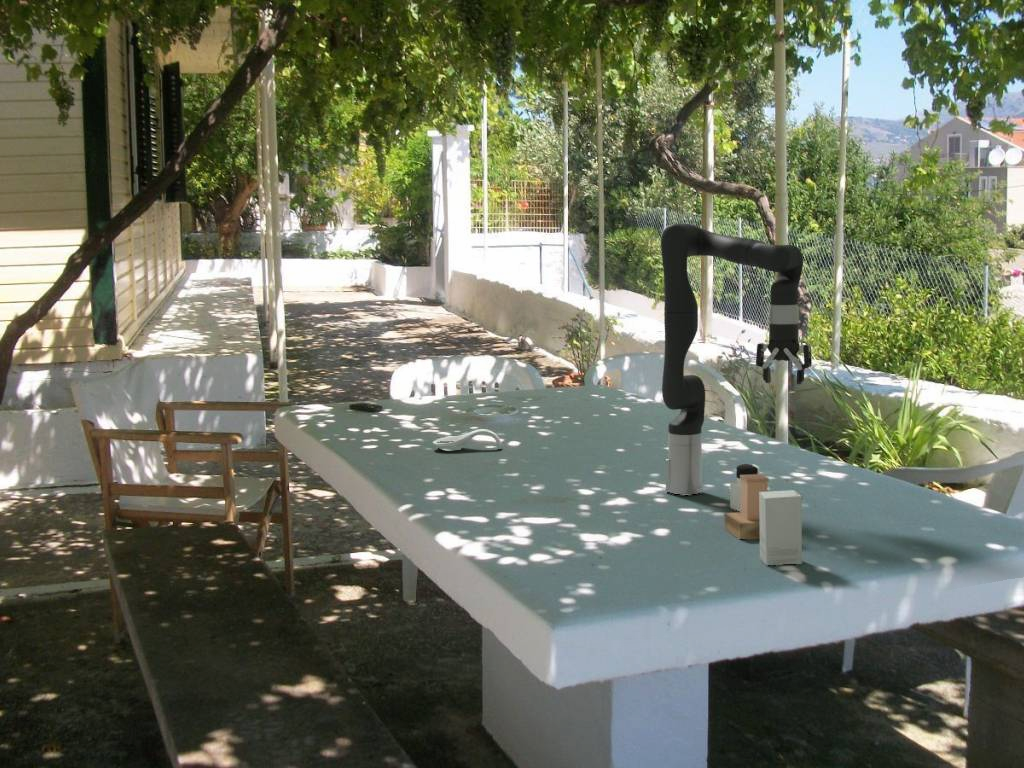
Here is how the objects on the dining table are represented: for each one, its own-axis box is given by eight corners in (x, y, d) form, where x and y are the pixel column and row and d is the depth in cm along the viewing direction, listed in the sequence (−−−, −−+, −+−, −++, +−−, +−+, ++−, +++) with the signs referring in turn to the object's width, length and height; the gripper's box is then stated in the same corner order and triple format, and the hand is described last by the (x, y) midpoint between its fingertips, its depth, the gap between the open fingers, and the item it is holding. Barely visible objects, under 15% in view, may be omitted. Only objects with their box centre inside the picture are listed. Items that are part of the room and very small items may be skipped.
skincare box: (794, 557, 268) (795, 489, 266) (803, 565, 261) (803, 495, 259) (757, 558, 267) (758, 490, 265) (765, 566, 261) (765, 497, 259)
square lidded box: (746, 520, 286) (746, 479, 285) (739, 515, 292) (739, 474, 291) (768, 519, 287) (768, 478, 286) (760, 514, 292) (761, 474, 291)
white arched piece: (431, 454, 407) (431, 433, 406) (434, 448, 418) (433, 427, 417) (501, 452, 406) (500, 432, 405) (501, 446, 418) (501, 426, 417)
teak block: (740, 539, 284) (740, 523, 283) (724, 528, 295) (725, 513, 294) (784, 537, 285) (784, 520, 285) (767, 526, 296) (767, 510, 296)
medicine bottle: (741, 513, 310) (741, 468, 309) (729, 507, 317) (729, 463, 316) (766, 511, 312) (766, 466, 311) (754, 505, 319) (754, 461, 318)
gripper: (815, 321, 310) (814, 383, 312) (762, 320, 318) (762, 380, 320) (806, 323, 304) (805, 386, 306) (752, 322, 311) (752, 383, 313)
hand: (783, 383), depth 313 cm, fingers open, 8 cm apart
